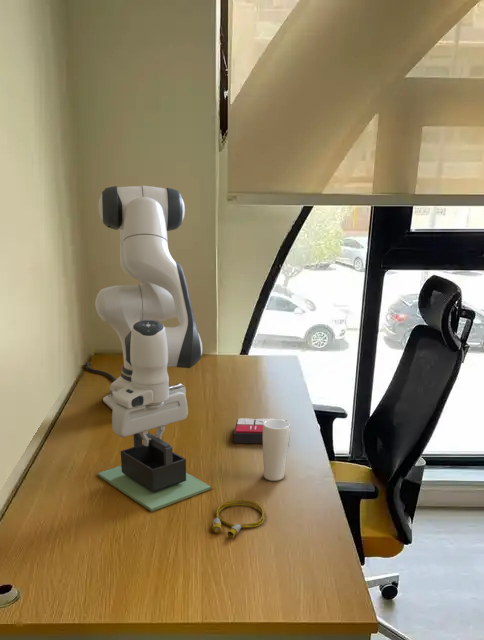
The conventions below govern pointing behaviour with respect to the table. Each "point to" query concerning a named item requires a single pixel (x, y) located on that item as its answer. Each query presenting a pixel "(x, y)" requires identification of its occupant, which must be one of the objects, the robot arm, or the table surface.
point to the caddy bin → (153, 464)
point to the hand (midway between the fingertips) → (152, 443)
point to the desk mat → (153, 498)
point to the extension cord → (235, 527)
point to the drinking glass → (275, 448)
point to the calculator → (249, 430)
